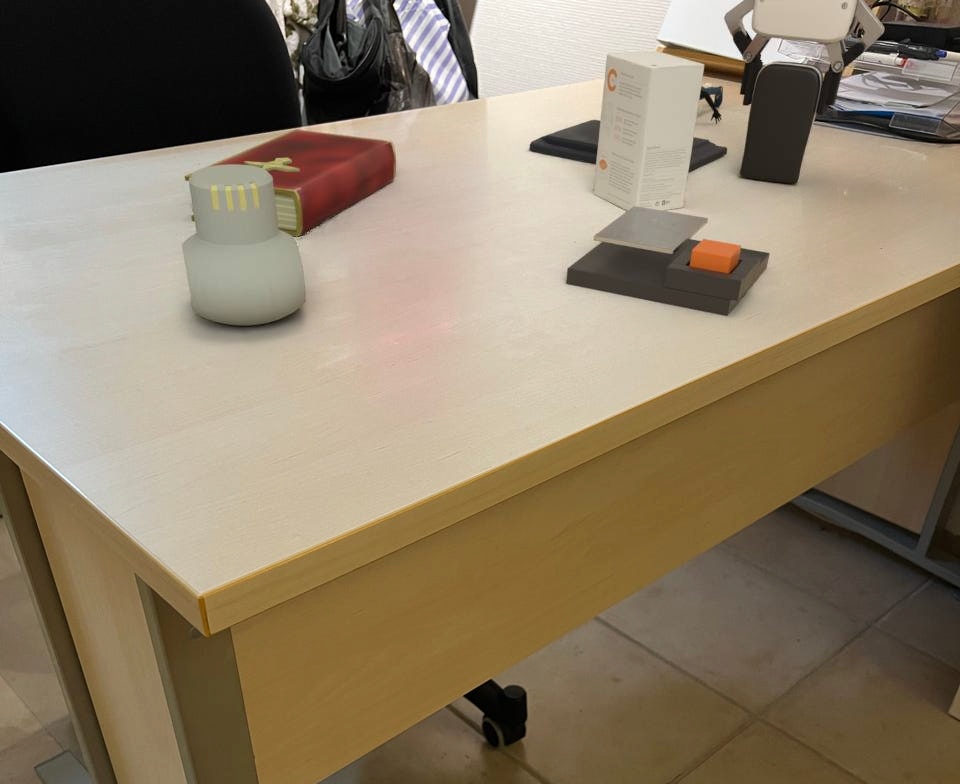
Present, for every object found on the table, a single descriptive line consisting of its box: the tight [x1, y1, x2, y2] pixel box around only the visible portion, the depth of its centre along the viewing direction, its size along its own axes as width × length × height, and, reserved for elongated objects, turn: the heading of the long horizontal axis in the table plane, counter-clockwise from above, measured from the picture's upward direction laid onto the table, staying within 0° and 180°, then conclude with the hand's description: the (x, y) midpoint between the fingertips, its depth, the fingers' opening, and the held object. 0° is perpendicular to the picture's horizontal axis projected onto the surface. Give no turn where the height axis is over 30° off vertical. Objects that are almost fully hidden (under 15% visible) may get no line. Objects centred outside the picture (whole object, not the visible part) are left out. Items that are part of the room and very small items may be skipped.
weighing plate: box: [593, 206, 709, 255], centre depth 82 cm, size 7×10×1 cm
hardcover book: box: [184, 129, 397, 237], centre depth 95 cm, size 12×21×4 cm, turn 159°
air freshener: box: [181, 164, 307, 327], centre depth 70 cm, size 11×8×10 cm
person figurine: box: [699, 82, 724, 125], centre depth 130 cm, size 11×4×18 cm
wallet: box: [528, 119, 728, 173], centre depth 114 cm, size 20×2×15 cm
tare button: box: [690, 238, 742, 274], centre depth 76 cm, size 3×3×2 cm
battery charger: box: [739, 60, 824, 184], centre depth 104 cm, size 7×4×11 cm, turn 66°
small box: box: [592, 50, 705, 212], centre depth 95 cm, size 8×6×13 cm
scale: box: [565, 238, 770, 317], centre depth 81 cm, size 14×13×3 cm
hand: (785, 106), depth 103 cm, fingers open, 7 cm apart
